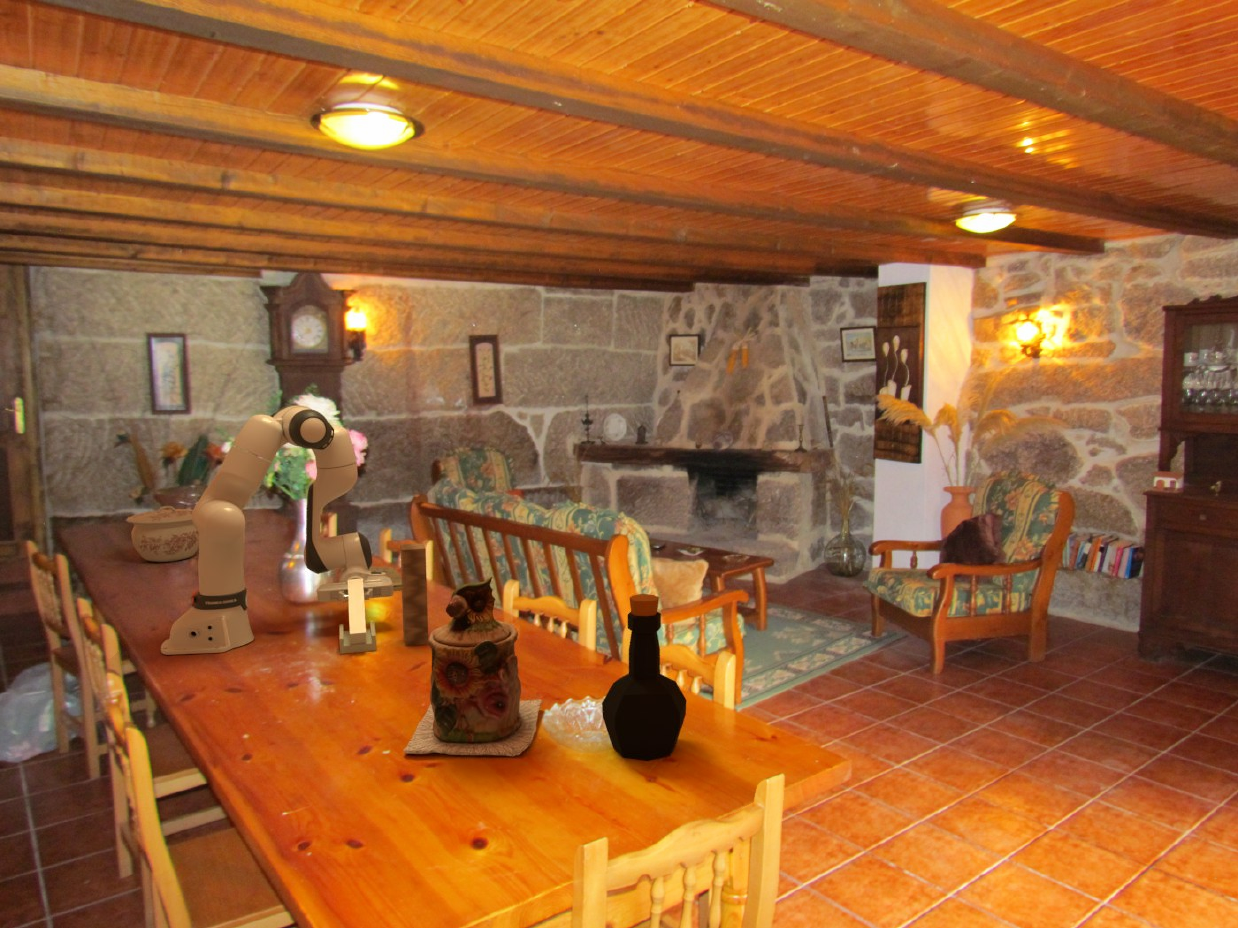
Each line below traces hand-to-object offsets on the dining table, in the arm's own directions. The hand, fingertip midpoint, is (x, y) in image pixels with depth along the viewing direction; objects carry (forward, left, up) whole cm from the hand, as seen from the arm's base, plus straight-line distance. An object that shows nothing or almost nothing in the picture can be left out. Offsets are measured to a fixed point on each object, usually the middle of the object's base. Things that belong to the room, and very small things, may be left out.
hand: (356, 597), depth 234 cm
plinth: (+15, -7, -11) cm, 20 cm away
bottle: (+52, -87, -12) cm, 102 cm away
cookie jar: (+22, -70, -12) cm, 74 cm away
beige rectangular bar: (0, -2, -4) cm, 5 cm away
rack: (0, -5, -11) cm, 12 cm away
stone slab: (+9, +64, -12) cm, 65 cm away
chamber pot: (-67, +126, -12) cm, 143 cm away
